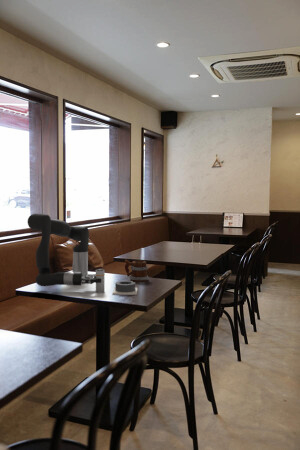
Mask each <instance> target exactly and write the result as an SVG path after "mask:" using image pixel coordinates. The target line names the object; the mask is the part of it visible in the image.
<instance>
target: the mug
mask: <svg viewBox="0 0 300 450" xmlns="http://www.w3.org/2000/svg"><path fill="white" fill-rule="evenodd" d="M124 262H125V265H124V269H125V272H126V276H127V277H129V279H130V281H135V283H144V281H145V282H147V281H148V280H149V276H148V268H149V267H148V266H147V261H145V260H133V261H132V262H130V261H129V260H128V259H125V260H124ZM130 269H131V271H130Z"/></svg>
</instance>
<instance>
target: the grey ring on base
mask: <svg viewBox="0 0 300 450" xmlns="http://www.w3.org/2000/svg"><path fill="white" fill-rule="evenodd" d="M114 284H115V287H114V288H113V291H112V295H119V296H120V295H121V296H122V295H125V296H126V295H127V296H128V295H129V296H130V295H132V296H137V294H138V287H136V282H133V281H131V280H119V281H115V283H114Z"/></svg>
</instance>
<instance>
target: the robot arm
mask: <svg viewBox="0 0 300 450" xmlns="http://www.w3.org/2000/svg"><path fill="white" fill-rule="evenodd" d="M27 226H28V227H29V228H30V230H33V231H36V232H37V231H39V232H41V239H40V242H39V244H38V246H37V248H36V251H35V265H36V268H38V269H37V270H38V274H37V275H36V277H35V283H36V285H37V286H40V287H50V286H57V285H58V286H79V287H80V286H82V285H85V284H87V285H88V284H89V285H92V284H96V283H101V278H96V273H95V274H94V273H88V272H89V266H88V264H89V262H88V261H89V253H88V252H89V251H88V250H89V244H90V230H89V228H88V227H87V226H81V225H79V226H78V225H77V226H76V225H70V224H69V223H68V222H67V221H64V220H61V219H55V218H51V216H50V215H49V214H46V213H33V214H30V216H29V217H28V218H27ZM51 235H54V236H57V237H62V238H67V239H70V240H73V241H75V242H76V241H77V242H79V244H77V245H75V246H73V248H72V266H71V267H72V271H57V272H54V273H52V271H51V266H50V239H51Z"/></svg>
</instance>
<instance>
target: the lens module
mask: <svg viewBox="0 0 300 450" xmlns="http://www.w3.org/2000/svg"><path fill="white" fill-rule="evenodd" d="M95 274H96V278H101V283H95V293H99V294H100V293H105V275H106V274H105V269H102V268H97V269H95Z"/></svg>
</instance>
